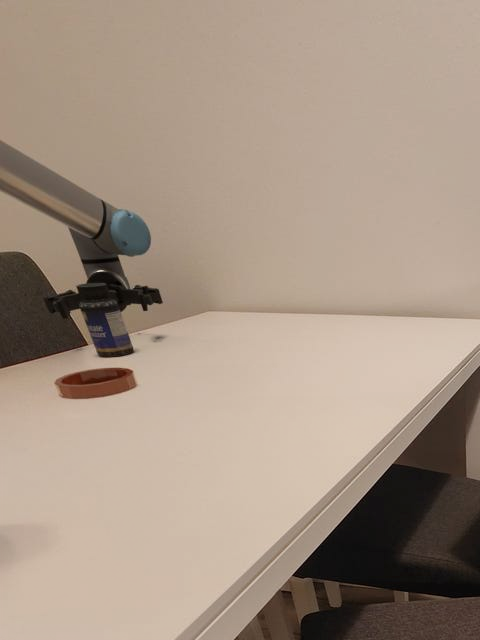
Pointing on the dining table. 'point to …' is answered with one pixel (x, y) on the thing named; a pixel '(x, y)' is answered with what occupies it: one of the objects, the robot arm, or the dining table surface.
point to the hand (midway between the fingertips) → (103, 306)
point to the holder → (96, 383)
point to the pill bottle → (104, 320)
